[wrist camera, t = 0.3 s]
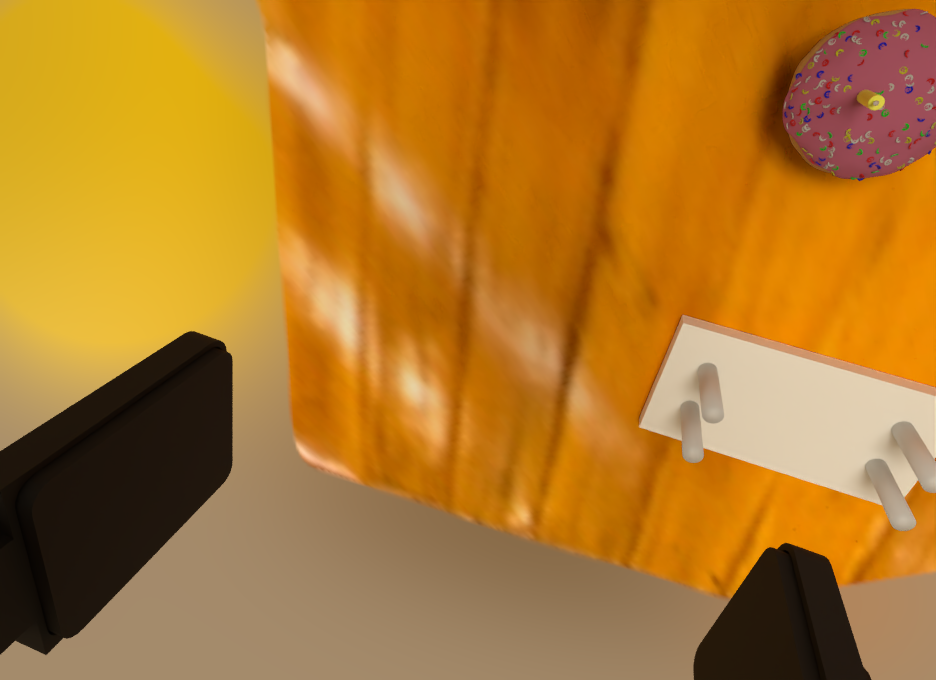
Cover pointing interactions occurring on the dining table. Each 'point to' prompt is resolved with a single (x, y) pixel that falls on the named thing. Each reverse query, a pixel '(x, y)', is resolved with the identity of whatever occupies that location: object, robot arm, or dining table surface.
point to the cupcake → (866, 96)
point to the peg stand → (796, 414)
